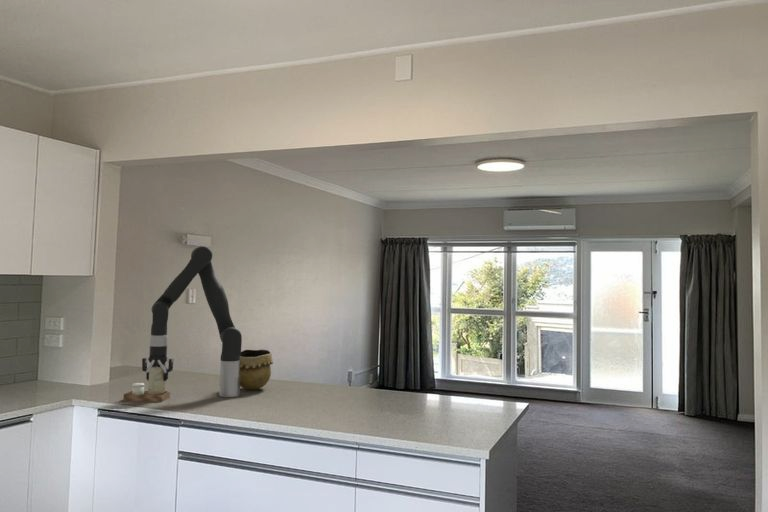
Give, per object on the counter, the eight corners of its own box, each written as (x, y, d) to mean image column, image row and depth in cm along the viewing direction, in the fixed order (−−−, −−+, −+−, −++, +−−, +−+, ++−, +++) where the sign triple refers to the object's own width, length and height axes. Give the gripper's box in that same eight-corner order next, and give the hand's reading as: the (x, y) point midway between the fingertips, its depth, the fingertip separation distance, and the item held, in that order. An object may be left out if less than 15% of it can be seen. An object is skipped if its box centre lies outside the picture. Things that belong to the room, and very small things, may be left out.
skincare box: (152, 394, 262) (154, 368, 263) (147, 393, 265) (148, 367, 266) (165, 393, 267) (166, 366, 268) (160, 391, 270) (161, 365, 271)
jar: (145, 398, 269) (146, 383, 269) (141, 400, 264) (141, 384, 264) (134, 397, 269) (135, 382, 269) (129, 400, 264) (130, 384, 264)
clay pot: (264, 394, 287) (265, 353, 288) (224, 392, 290) (225, 352, 291) (278, 387, 307) (279, 349, 308) (240, 385, 311) (241, 348, 312)
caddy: (169, 399, 271) (170, 391, 271) (162, 403, 261) (162, 395, 262) (132, 398, 271) (132, 390, 271) (123, 402, 262) (123, 394, 262)
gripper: (176, 344, 271) (175, 379, 270) (146, 343, 271) (145, 379, 270) (170, 346, 264) (169, 382, 263) (139, 345, 264) (138, 381, 263)
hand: (157, 380), depth 267 cm, fingers closed on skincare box, 7 cm apart
